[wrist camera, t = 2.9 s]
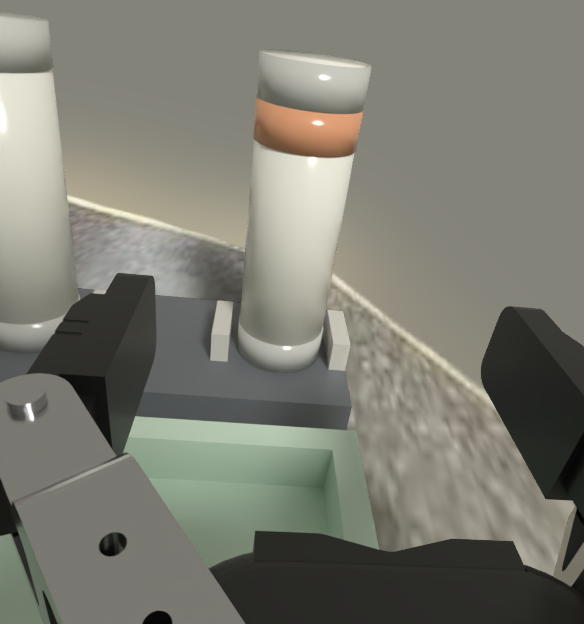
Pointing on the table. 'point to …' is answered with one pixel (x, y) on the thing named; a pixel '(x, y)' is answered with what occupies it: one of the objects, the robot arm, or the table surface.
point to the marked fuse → (296, 202)
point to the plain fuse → (31, 192)
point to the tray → (233, 490)
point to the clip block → (229, 371)
